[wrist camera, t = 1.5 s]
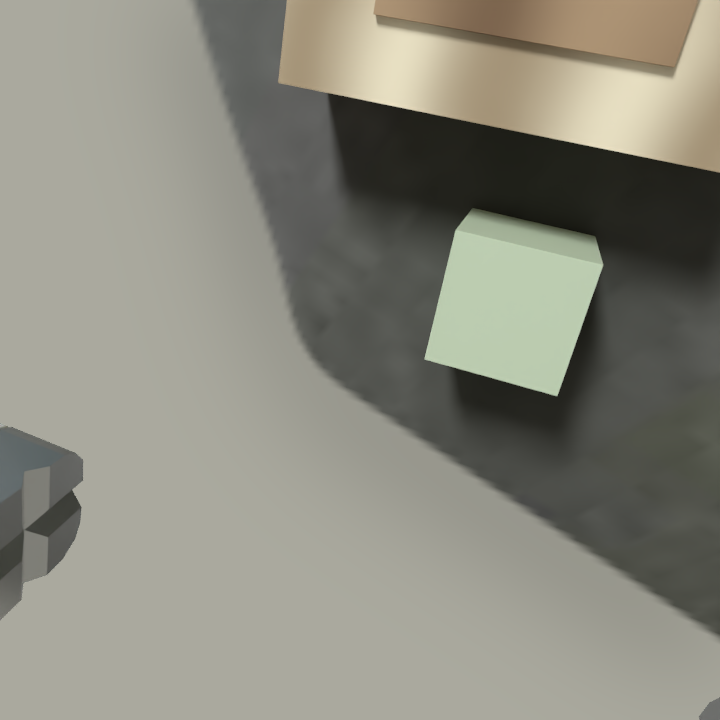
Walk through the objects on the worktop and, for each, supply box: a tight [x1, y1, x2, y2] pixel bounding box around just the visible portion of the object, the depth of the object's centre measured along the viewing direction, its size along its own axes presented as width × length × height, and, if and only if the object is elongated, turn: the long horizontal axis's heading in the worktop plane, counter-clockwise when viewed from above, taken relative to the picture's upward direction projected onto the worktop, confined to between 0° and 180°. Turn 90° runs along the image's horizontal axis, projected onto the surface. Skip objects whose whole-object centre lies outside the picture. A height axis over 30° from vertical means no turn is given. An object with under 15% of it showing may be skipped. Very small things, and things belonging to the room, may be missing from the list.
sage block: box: [425, 208, 603, 396], centre depth 25 cm, size 5×5×5 cm
